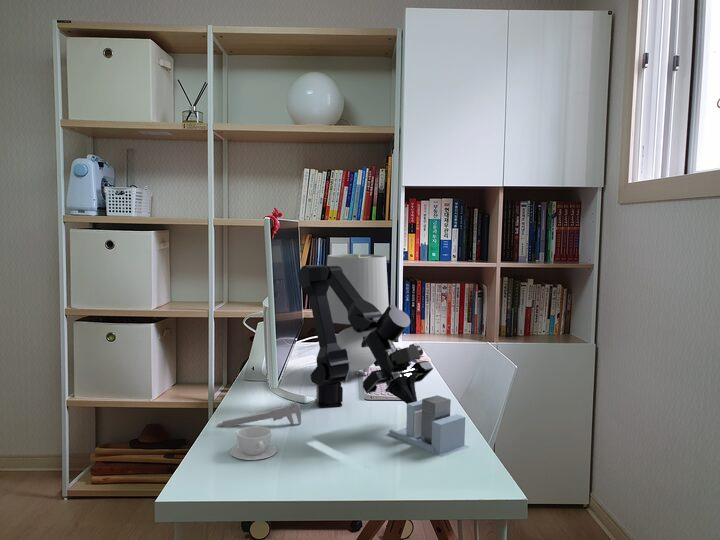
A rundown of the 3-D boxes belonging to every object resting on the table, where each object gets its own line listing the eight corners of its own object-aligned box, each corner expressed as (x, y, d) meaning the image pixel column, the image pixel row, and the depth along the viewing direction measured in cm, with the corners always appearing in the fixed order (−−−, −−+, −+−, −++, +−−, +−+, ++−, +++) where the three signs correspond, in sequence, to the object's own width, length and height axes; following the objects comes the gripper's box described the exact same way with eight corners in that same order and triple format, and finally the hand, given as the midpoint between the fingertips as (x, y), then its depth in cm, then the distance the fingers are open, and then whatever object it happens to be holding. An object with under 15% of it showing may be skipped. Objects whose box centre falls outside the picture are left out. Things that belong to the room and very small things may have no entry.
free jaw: (406, 437, 135) (406, 403, 134) (425, 431, 139) (426, 398, 138) (413, 440, 133) (414, 406, 132) (432, 434, 137) (433, 401, 136)
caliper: (300, 424, 147) (301, 400, 146) (301, 426, 146) (301, 401, 145) (217, 426, 144) (217, 401, 144) (216, 428, 143) (216, 402, 143)
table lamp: (364, 390, 176) (366, 257, 173) (306, 379, 187) (307, 254, 184) (400, 374, 195) (402, 254, 192) (345, 365, 207) (347, 251, 203)
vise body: (387, 438, 138) (388, 406, 137) (414, 430, 143) (415, 399, 143) (441, 461, 125) (442, 426, 124) (469, 451, 130) (470, 417, 130)
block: (420, 442, 132) (422, 399, 131) (436, 437, 135) (437, 395, 134) (434, 448, 129) (435, 403, 128) (449, 443, 132) (450, 399, 131)
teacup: (225, 448, 130) (225, 428, 130) (267, 441, 135) (267, 421, 135) (238, 465, 122) (238, 443, 121) (283, 457, 126) (284, 435, 126)
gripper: (371, 336, 133) (404, 396, 126) (428, 328, 145) (461, 381, 138) (349, 364, 140) (379, 422, 132) (405, 354, 152) (436, 406, 144)
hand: (415, 407), depth 136 cm, fingers closed, pressing on free jaw
